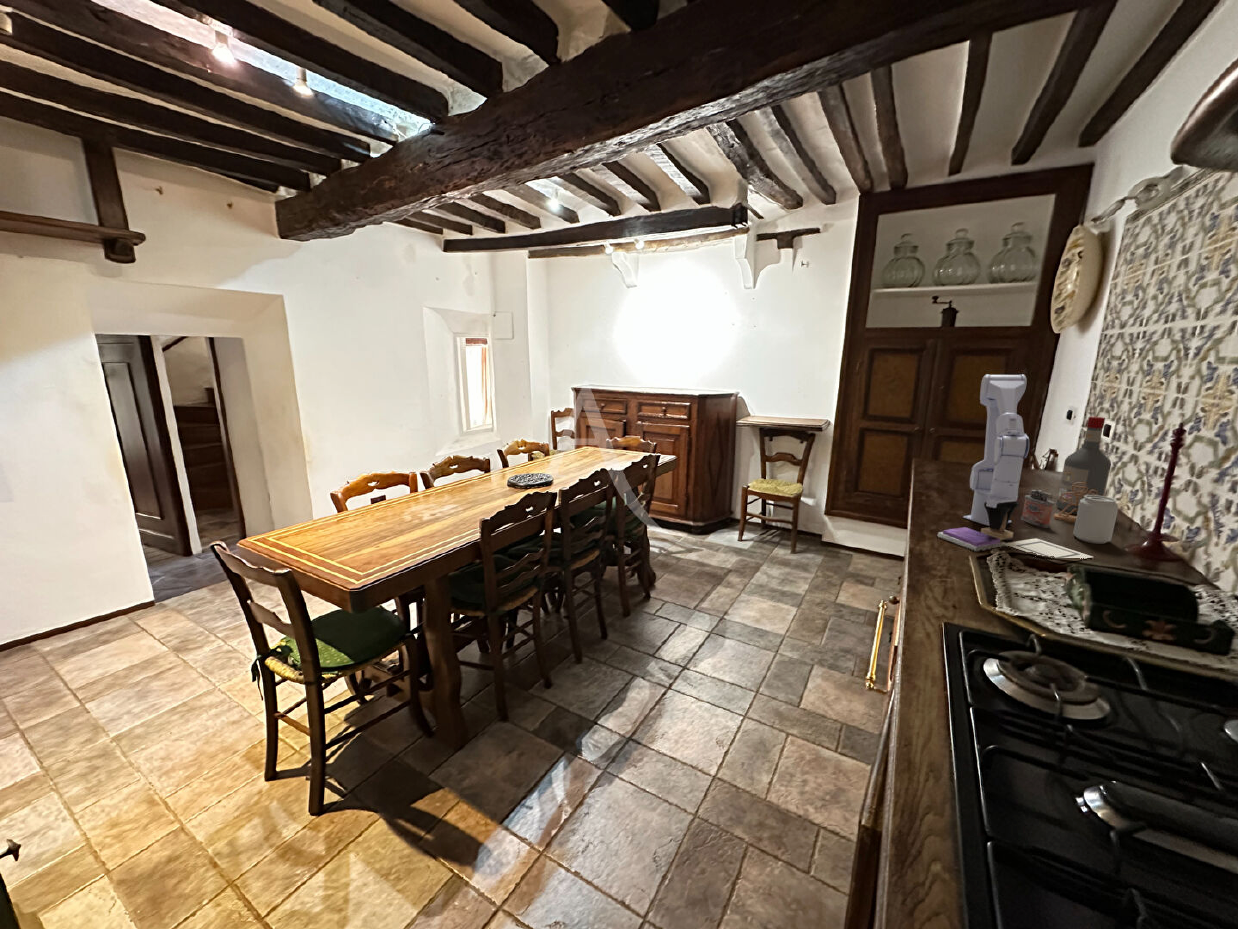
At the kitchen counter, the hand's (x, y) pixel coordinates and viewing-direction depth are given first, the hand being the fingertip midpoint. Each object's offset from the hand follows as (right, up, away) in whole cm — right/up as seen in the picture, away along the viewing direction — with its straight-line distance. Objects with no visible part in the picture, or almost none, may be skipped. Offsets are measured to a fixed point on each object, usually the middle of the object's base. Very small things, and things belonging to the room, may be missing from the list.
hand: (997, 527), depth 132 cm
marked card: (+5, -5, -9) cm, 12 cm away
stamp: (0, -3, +1) cm, 3 cm away
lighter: (+20, 0, +11) cm, 23 cm away
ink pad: (-9, -4, -2) cm, 10 cm away
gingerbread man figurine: (+33, 0, +13) cm, 36 cm away
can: (+24, -3, -2) cm, 24 cm away
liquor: (+43, +2, +22) cm, 48 cm away
